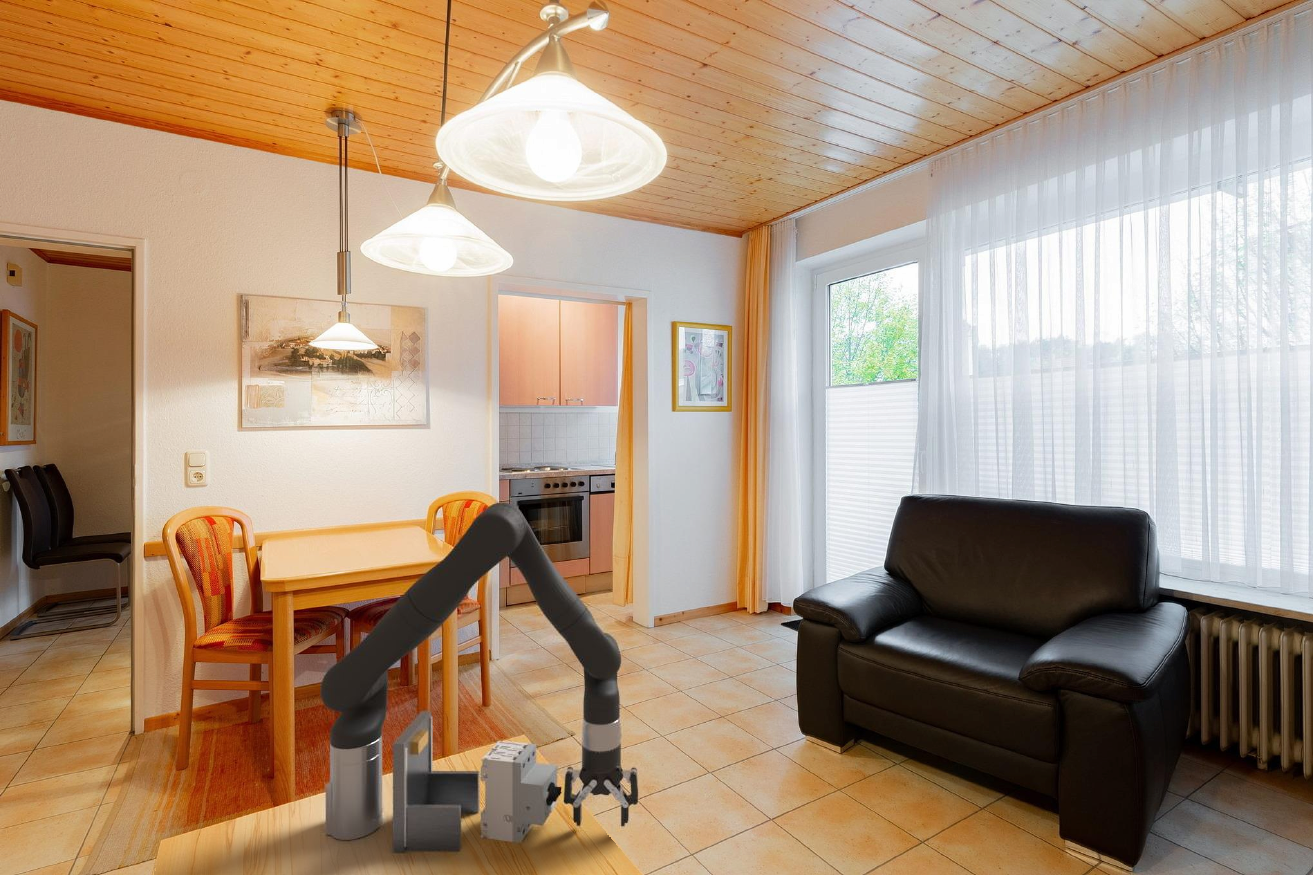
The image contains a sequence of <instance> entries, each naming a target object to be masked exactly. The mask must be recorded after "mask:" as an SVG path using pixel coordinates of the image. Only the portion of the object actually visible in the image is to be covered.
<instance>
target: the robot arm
mask: <svg viewBox="0 0 1313 875" xmlns="http://www.w3.org/2000/svg"><path fill="white" fill-rule="evenodd" d="M506 558H508V559H509V560H510V561H511V562H512V563H513V564H514V565H515V566H516V567H517V569H518V570H519V572H520V573H521V575H522V576H523V578H524V580H525V582H526V584H527V585H528V588H529V590H530V592H531V594H532V596H533V598H534V601H536V604H537V606H538V608H539V609H540V611H541V612H542V614H543V615H544V617H545V619H547V621H549V623H550V624H551V625H552V626H553V627H554V628H555V630H556V631H557V632H558V634H559V635H560V636H561V637H563V639H564V640H565V642H566V643H567V644H568V646H569V647H570V649H571V650H572V652H573V654H574V655H575V658H577V660H578V661H579V664H581V666H582V667H583V679H584V680H583V681H584V682H583V683H584V691H583V702H582V703H583V706H582V707H583V709H582V711H583V715H582V716H583V719H582V726H581V727H582V728H581V769H574V768H573V767H572V766H568V767H567V768H566V771H565V775H564V789H563V790H564V791H563V803H564V804H566V805H568V804H570V805H571V806H572V808H573V809H572V810H573V811H572V813H573V815H572V816H573V817H572V818H573V819H572V820H573V823H576V826H577V827H580V826H581V824H582V818H583V817H582V816H583V815H582V811H583V809H582V803H583V801H584V800H586V798H587V797H588V796H589V795H590V794H592V796H599V795H603V796H610V795H612V796H613V798H615V800H617V802H619V803H620V805H621V806H620V827H625V825H626V824H628V823H629V811H630V810H629V808H630V806H631V805H634V806H635V805H637V804H638V803H639V784H638V783H639V782H638V770H637V768H636V767H635V766H634V767H631V769H629V770H627V769H626V770H625V769H624V770H623V769H622V765H621V764H622V761H621V760H622V726H621V718H620V710H621V709H620V707H621V706H620V704H621V703H620V698H621V697H620V691H619V687H618V673H619V670H620V668H621V664H622V655H621V652H620V649H619V644H618V642H617V641H616V639H615V637H613V636H612V635H611V634H610V633H607V632H604V631H603V630H602V629H601V627H599V625H598V624H597V623H596V621H595V618H594V616H593V615H592V613H591V610H589V608H588V607H587V606H586V604H585V603H584V602H583V601H582V599H581V598H580V597H579V596H578V594H577V593H576V592H575V591H574V590H573V589H572V587H571V586H570V585H569V584H568V582H567V581H566V579H564V577H563V576H562V574H561V573H560V571H559V570H558V569H557V567H556V566H555V565H554V564H553V562H552V561H551V559H550V557H549V556H548V555H547V553H546V551H545V550H544V548H543V547H542V545H541V544H540V542H539V540H538V539H537V537H536V535H535V533H534V532H533V530H532V528H531V526H530V524H529V523H528V521H527V519H526V517H525V516H524V514H523V513H522V511H521V510H520V509H519V508H518V507H517V506H516V505H513V503H512V504H511V503H508V502H503V501H501V502H496V503H493V504H492V505H489V506H487V507H486V508H485V509H484V510H483V511H482V512H481V513H479V514H478V516H476V517H475V519H473V521H472V523H471V524H470V525H469V527H468V528H467V530H466V531H465V532H464V533H463V535H462V537H461V538H460V539H459V541H458V542H457V543H456V545H454V547H453V548H452V549H451V551H450V552H449V553H448V554H447V555H446V556H445V557H444V558H443V559H441V561H439V563H437V564H435V566H433V567H432V568H430V569H429V570H427V571H426V572H425V573H424V574H423V575H422V576H420V577H419V578H418V579H417V580H416V581H415V582H413V584H411V586H410V587H409V588H408V589H407V590H406V591H405V592H403V593H404V594H402V596H400V597H399V598H398V599H397V600H396V602H395V603H394V604H393V606H392V607H391V608H390V609H389V610H388V611H387V612H386V613H385V614H384V615H383V616H382V617H381V619H380V620H379V621H378V622H377V623H376V625H375V626H374V627H373V629H371V631H369V633H368V634H367V635H366V636H365V637H364V638H363V640H362V641H360V643H358V645H356V646H355V647H354V648H353V649H351V650H350V651H349V653H347V654H346V655H345V656H344V657H342V658H341V659H340V660H338V661H337V662H336V663H335V664H334V665H332V666H331V667H330V668H329V669H328V670H327V671H326V673H325V675H324V676H323V678H322V681H321V685H320V688H319V689H320V691H319V692H320V699H321V700H322V703H323V706H325V707H326V708H327V709H329V710H331V711H334V712H337V713H339V715H338V716H337V718H336V720H335V722H333V724H332V726H331V729H330V733H329V743H330V746H329V749H330V750H329V752H330V754H329V756H330V759H329V763H330V764H329V766H330V767H329V771H330V774H329V778H330V779H329V781H328V782H327V783H326V784H325V836H332V837H333V839H337V840H341V841H349V840H356V839H359V838H363V837H365V836H368V835H370V834H372V833H373V832H375V831H376V830H378V828H379V827H380V826H381V825H382V823H383V726H384V723H385V720H386V718H387V712H388V711H387V710H388V709H387V708H388V692H389V691H388V688H389V685H388V684H389V682H388V681H389V678H388V677H389V676H388V670H389V669H390V668H391V667H392V666H394V665H395V664H396V663H397V662H399V661H400V660H402V659H403V658H404V657H405V656H407V655H408V654H410V653H411V652H412V651H414V650H415V649H417V647H418V646H420V645H421V644H422V643H423V642H425V641H426V640H427V639H429V637H431V636H432V635H433V634H434V633H435V632H437V630H438V629H439V628H440V627H441V626H442V625H443V624H444V623H445V622H446V621H447V620H448V619H449V617H451V615H452V614H453V613H454V612H455V611H456V609H458V607H459V606H460V604H461V603H462V602H463V601H464V599H465V598H466V596H467V595H468V593H469V591H470V590H471V589H472V588H473V586H474V585H475V584H476V583H478V581H479V580H481V579H482V578H483V577H484V576H485V575H486V574H488V573H489V572H490V571H491V570H492V569H494V567H496V566H497V565H498V564H499V563H500V562H502V561H503V560H504V559H506ZM577 778H579V780H580V781H581V783H582V785H581V787H580V789H579V790H578V791H577V793H576V794H575V793H573V784H574V783H575V782H576V781H577ZM623 779H625V780H626V782H627V783H628V784H630V794H628V793H627V792H626V791H625V789H624V787H623V785H622V784H621V782H622V780H623Z"/></svg>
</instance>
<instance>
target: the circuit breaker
mask: <svg viewBox="0 0 1313 875" xmlns="http://www.w3.org/2000/svg"><path fill="white" fill-rule="evenodd" d="M481 761H482V763H481V766H480V781H481V782H484V798H485V799H484V801H485V802H484V809H483V810H482V811H481V812H480V830H481V835H480V838H484V837H485V838H486V839H490V840H495V841H496V840H497V841H504V842H505V841H506V842H511V843H522V842H523V840H524V839H525V836H526V835H527V834H528V832H529V831H530V829H531V828H532V827H533V825H535V826H544V825H545V823H546V822H547V820H548V818H549V817H550V815H551V814H552V812H553V810H554V808H555V807H556V805H557V804H558V798H559V796H561V794H562V786H558V765H556V764H550V763H540V762H537V744H536V743H526V742H519V741H518V742H517V741H508V740H504V741H501V740H498V741H497V742H496V743H495V745H493V747H492V748H491V750H489V751H488V752H487V753H486V754H485V755H484V756H483V757H482V758H481Z"/></svg>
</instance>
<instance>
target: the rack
mask: <svg viewBox="0 0 1313 875" xmlns="http://www.w3.org/2000/svg"><path fill="white" fill-rule="evenodd" d="M433 754H434V753H433V716H432V710H421V711H420V712H419V713H418V714H417V715H416V717H414V719H413V720H412V721H411V723H410V724H409V725H408V726H407V727H406V728H405V729H404V730H403V731H402V733H401V734H400V735H399V736H398V737H397V739H396V740H395V741H394V742H393V743H392V854H405V852H460V850H461V849H462V814H478V813H479V812H480V770H433V768H434V767H433V766H434V765H433V759H434V758H433Z"/></svg>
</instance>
